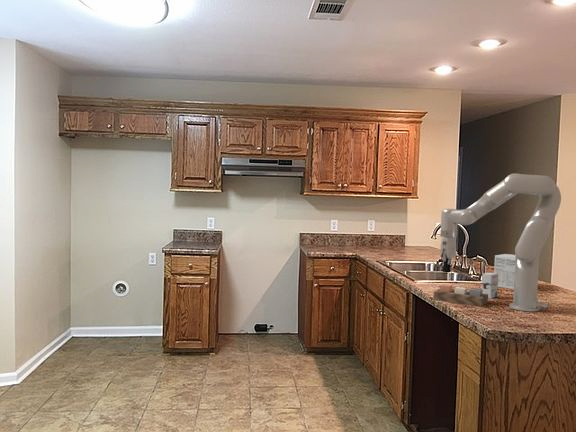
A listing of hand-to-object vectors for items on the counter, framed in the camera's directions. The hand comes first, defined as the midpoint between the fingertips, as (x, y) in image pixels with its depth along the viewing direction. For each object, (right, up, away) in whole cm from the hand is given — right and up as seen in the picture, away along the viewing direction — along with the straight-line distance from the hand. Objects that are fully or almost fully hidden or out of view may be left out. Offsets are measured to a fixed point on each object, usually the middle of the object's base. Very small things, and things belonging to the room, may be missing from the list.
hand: (446, 272), depth 234 cm
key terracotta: (0, -10, 0) cm, 10 cm away
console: (+5, -14, -3) cm, 15 cm away
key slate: (+11, -11, -8) cm, 18 cm away
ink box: (+24, -14, +9) cm, 29 cm away
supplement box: (+48, -13, +37) cm, 62 cm away
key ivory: (+5, -11, -4) cm, 13 cm away
